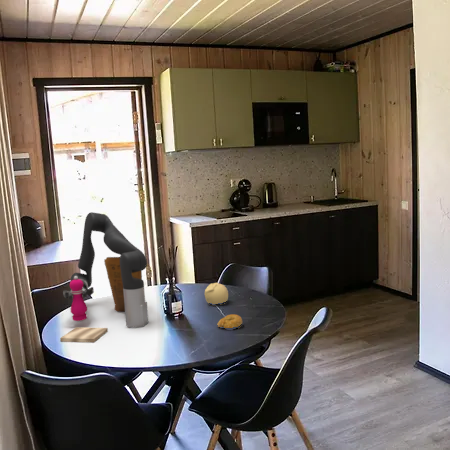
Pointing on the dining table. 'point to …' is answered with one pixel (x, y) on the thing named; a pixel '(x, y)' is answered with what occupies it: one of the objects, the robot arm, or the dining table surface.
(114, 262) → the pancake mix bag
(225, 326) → the bagel
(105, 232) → the robot arm
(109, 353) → the dining table surface
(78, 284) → the pepper mill
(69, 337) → the birch board
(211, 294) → the tan round lump
